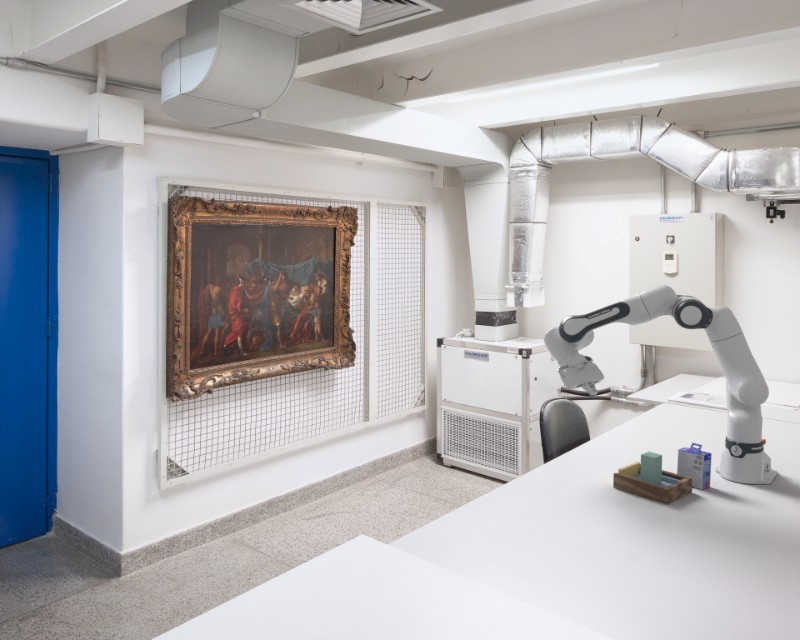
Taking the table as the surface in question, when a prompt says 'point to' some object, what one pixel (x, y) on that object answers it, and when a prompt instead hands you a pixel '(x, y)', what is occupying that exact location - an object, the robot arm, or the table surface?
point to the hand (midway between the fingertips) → (594, 394)
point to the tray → (634, 472)
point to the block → (651, 467)
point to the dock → (654, 487)
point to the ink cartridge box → (695, 465)
